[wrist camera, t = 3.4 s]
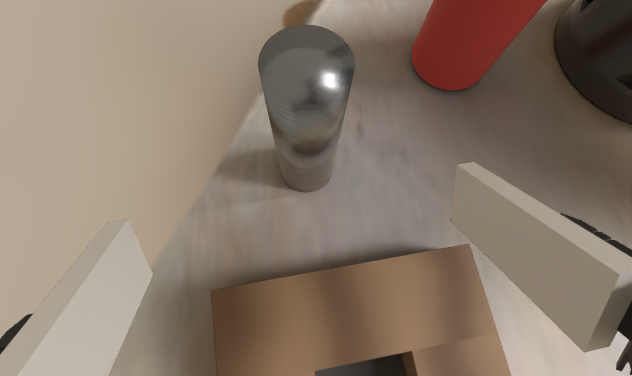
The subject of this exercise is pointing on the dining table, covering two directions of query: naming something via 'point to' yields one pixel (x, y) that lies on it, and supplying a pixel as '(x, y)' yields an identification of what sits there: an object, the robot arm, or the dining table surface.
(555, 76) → the dining table surface
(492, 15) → the beer can
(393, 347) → the socket block
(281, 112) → the steel pin
